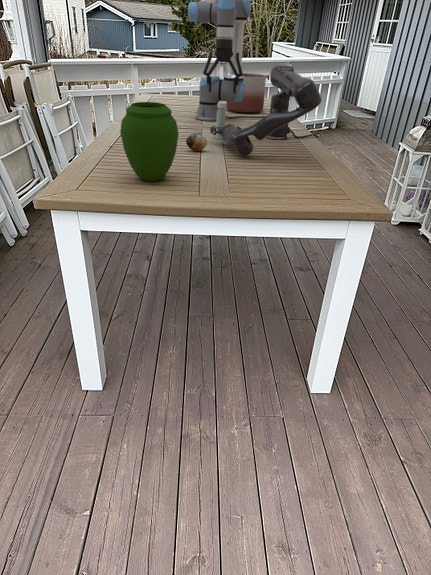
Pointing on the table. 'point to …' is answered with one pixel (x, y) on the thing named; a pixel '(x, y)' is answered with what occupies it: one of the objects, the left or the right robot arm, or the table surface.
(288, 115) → the right robot arm
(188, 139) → the seashell
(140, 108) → the vase
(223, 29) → the left robot arm
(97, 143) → the table surface
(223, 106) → the cap
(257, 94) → the planter
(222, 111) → the bottle
